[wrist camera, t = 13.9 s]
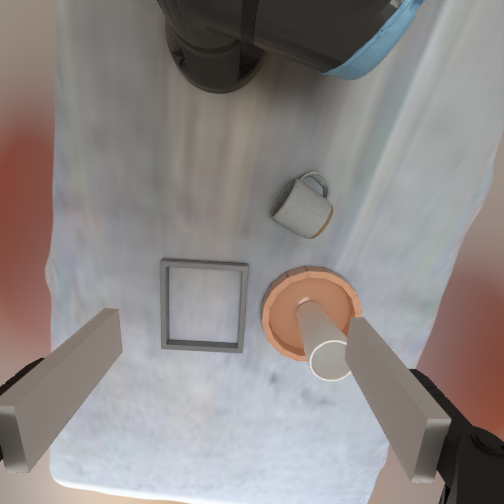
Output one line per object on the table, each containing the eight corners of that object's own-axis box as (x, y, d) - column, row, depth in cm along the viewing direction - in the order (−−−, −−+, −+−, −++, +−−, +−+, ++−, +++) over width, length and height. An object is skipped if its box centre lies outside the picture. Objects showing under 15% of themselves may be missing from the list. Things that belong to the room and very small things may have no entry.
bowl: (265, 263, 49) (266, 268, 46) (361, 269, 50) (368, 274, 47) (258, 349, 53) (259, 358, 50) (347, 354, 54) (352, 363, 51)
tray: (163, 258, 49) (160, 261, 47) (248, 263, 49) (248, 266, 47) (164, 343, 53) (161, 348, 51) (242, 347, 53) (242, 353, 51)
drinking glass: (293, 295, 50) (311, 338, 35) (328, 297, 50) (360, 341, 36) (290, 327, 52) (306, 381, 37) (324, 329, 52) (353, 383, 37)
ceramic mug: (305, 238, 48) (316, 246, 41) (267, 215, 47) (272, 219, 40) (338, 187, 46) (355, 186, 39) (299, 162, 45) (310, 156, 38)
